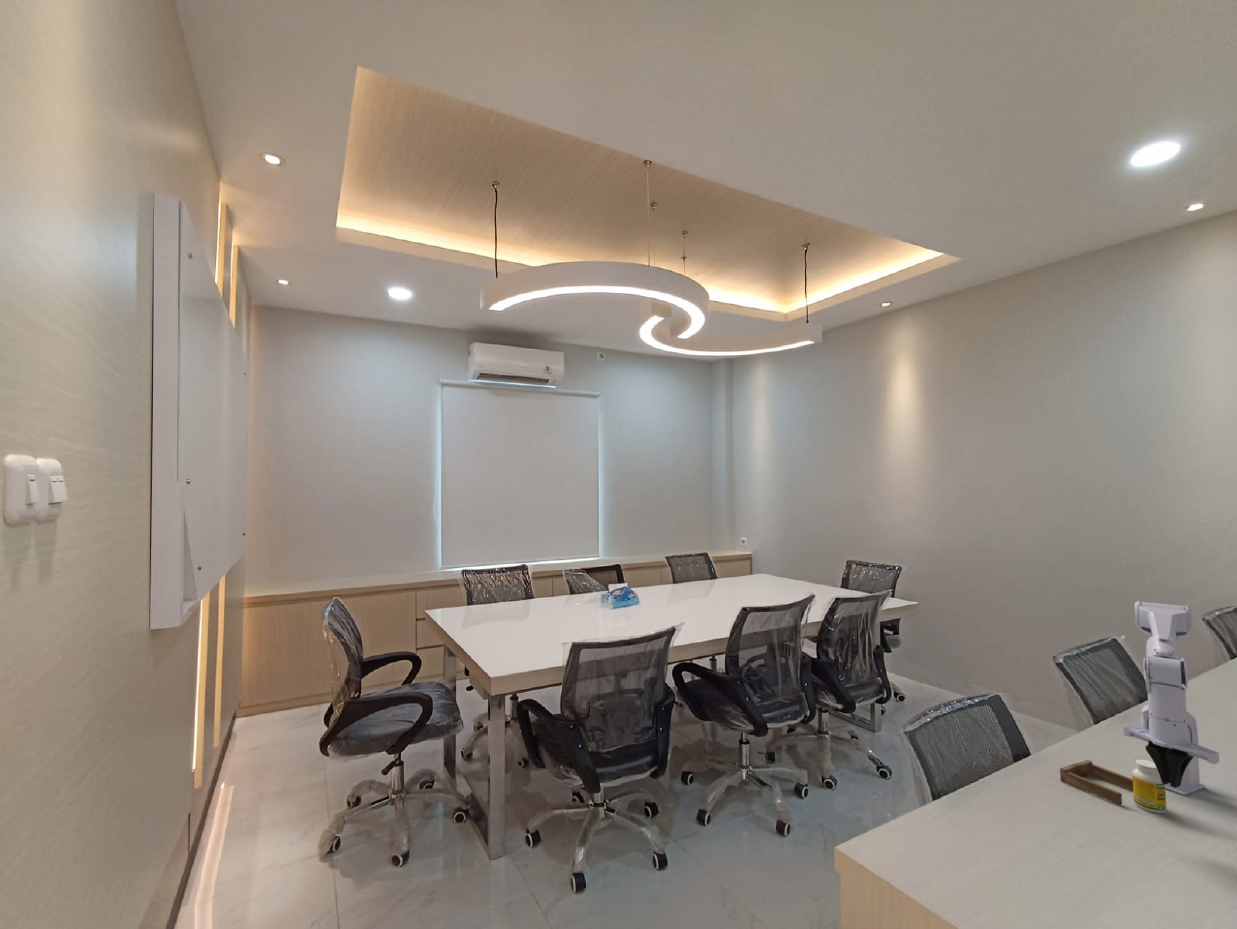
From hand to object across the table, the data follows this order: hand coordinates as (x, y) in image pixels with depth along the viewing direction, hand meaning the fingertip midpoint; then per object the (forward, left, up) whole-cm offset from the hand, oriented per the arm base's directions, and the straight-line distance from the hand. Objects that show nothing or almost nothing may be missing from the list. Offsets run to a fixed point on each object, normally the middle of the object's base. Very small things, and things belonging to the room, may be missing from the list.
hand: (1171, 784), depth 116 cm
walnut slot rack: (-9, -17, -10) cm, 21 cm away
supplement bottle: (-9, -8, -11) cm, 16 cm away
